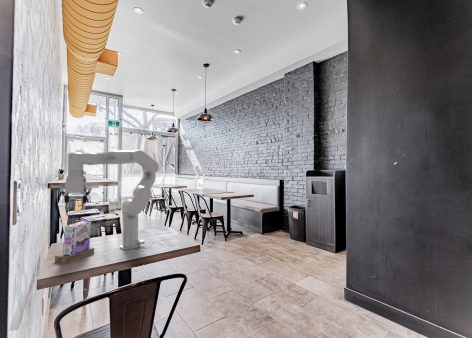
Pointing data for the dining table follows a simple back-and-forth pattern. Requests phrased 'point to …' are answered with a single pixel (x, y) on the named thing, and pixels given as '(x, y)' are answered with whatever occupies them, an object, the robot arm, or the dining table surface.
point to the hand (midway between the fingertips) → (75, 202)
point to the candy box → (76, 238)
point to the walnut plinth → (68, 259)
